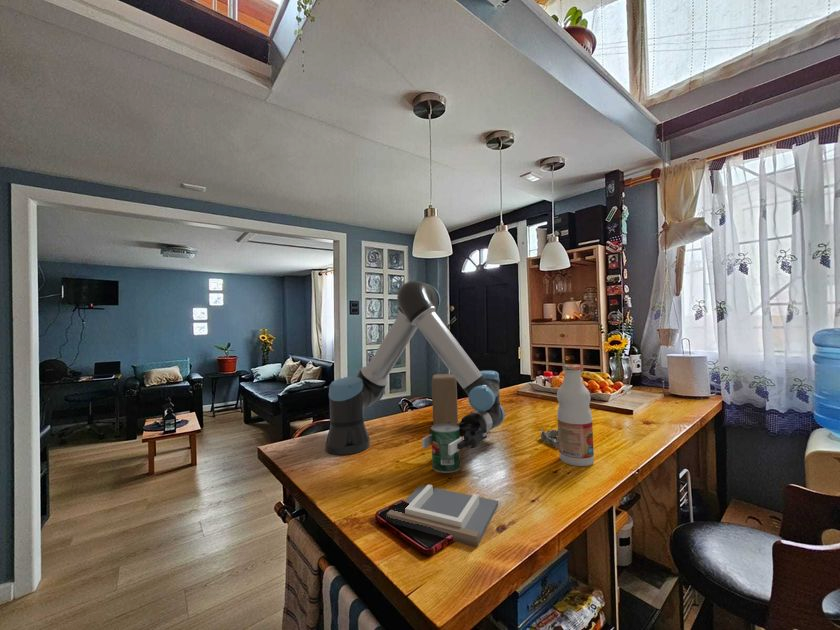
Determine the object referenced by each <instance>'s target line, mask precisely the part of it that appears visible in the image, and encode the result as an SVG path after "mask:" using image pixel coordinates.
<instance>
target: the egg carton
mask: <svg viewBox="0 0 840 630" xmlns="http://www.w3.org/2000/svg"><path fill="white" fill-rule="evenodd" d="M538 430H539V431H541V433H540V441H542V442H546V441H547V442H546V444H547V445H551V444H553V445H552V447H553V448H554V447H555V449H559V440H558V428H557V429H551V430H549V429H548V430H547V432H545V430H544V429H542V428H538ZM553 437H556V438H553ZM556 447H557V448H556Z"/></svg>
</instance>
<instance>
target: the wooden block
mask: <svg viewBox="0 0 840 630" xmlns="http://www.w3.org/2000/svg"><path fill="white" fill-rule="evenodd" d="M457 383H458V381H457V380H456V379H455V377H454V376H453V375H452V373H437V374H436V373H435V374H433V375H432V378H431V398H432V399H431V401H432V403H431V404H432V424H433V425H435V424H440V423H447V422H451V423H452V424H458V423H459V412H458V411H459V410H458V388H457V386H458V385H457ZM433 425H432V426H433Z"/></svg>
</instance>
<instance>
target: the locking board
mask: <svg viewBox="0 0 840 630" xmlns="http://www.w3.org/2000/svg"><path fill="white" fill-rule="evenodd" d="M404 501H405V502H407V503H409V505H408V506H407V507H406V508H405V513H402V512H398V511H394V510H395V509H394V510H393V509H390V510H389V511H387V512H386V517H387V516H388V517H390V518H393V519H398V520H401V521H405V522H409V523H413V524H419V525H423V526H427V527H431V528H433V529H435V530H438V531H441V532H444V533H448V534H451V535H452V536H453V541H452V542H455V543H459V544H464V545H467V546H471V547H474V548H478V547H479V544H480V543H481V540H482V539H483V536H484V534H485V532H486V531H487V528H488V527H489V524H490V522H491V521H492V519H493V517H494V514H495V513H496V511H497V508H498V507H499V500H496V499H491V498H486V497H482V496H480V494H477V493H473V494H471V495H470V494H468V493H467V494H466V493H462V492H456V491H452V490H447V489H442V488H437V487H434V486H433V485H432V484H427V485H422V484H420V485H419V486H417V488H416V489H414V491H413V492H412V493H411V494H410V495H409V496H407V498H406V499H404Z"/></svg>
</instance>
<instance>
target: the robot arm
mask: <svg viewBox="0 0 840 630" xmlns="http://www.w3.org/2000/svg"><path fill="white" fill-rule="evenodd" d="M396 300H397V304H398V308H397V311H398V315H397V317H396V318H395V320H394V322H393V323H392V325H391V327H390V329H389V330H388V332H387V333H386V335H385V336H384V339H383V340H382V342H381V343H380V345H379V346H378V348H377V350H376V351H375V353H374V355H373V356H372V358H371V360H370V361H369V363H368V364H367V365H366V366H363V367H361V368H360V369H359V372H358V374H357V375H356V376H345V377H341V378H337V379H335V380H333V381H331V383H330V384H329V386H328V400H329V422H330V423H329V430H328V434H327V437H326V440H325V451H326V452H327V453H328V454H331V455H335V456H337V455H338V456H339V455H340V456H346V455H352V454H353V455H354V454H357V453H361V452H364V451H365V450H367V449H368V448H369V447H370V446H371V440H370V439H371V438H370V436H369V434H368V430H367V428H366V425H365V414H364V413H365V409H367V408H368V407H371V406H374V405H376V404H377V403H378V402H380V400H381V399H382V398H383V396H384V395H385V391H386V386H387V385H388V382H389V381H388V378H387V377H389V374H390V373H391V371H392V370H393V368H394V366H395V365H396V363H397V362H398V360H399V359H400V357H401V355H402V353H404V351H405V349H406V347H407V346H408V344H409V343H410V341H411V339H412V338H413V336H414V335H415V333H416V332H417V329H418V330H419V331H420V333H422V335H423V336H424V338H425V339H426V341H427V343H428V344H429V345H430V346H431V348H432V349H433V350H434V352H436V355H438V357H439V358H440V360H441V361H442V362H443V365H445V366H446V368H447V369H448V371H449V373H450V374H452V375H453V376H454V377H455V379H456V382H457V383H458V384H459V385H460V387H461V388H462V389H463V391H464V392H465V394H466V395H467V398H468V403H469V405H470V407H471V408H472V409H474V410H475V411H473V412H470V413H469V414H467V415H464V416H463V417H462V418H461V420H460V421H459V422H458V424H456V425H458V426H459V433H460V434H459V436H460V438H459V439H457V440H455V441H453V442H452V443H450V444H448V455H453V454H454V453H456V452H457V451H459V450H460V451H461V450H463V449H465V448H469V447H470V448H471V449H475V448H477V446H479V444H480V443H481V442H482V441H483V440H485V439H487V438H488V432H490V431H491V430H493V429H495V428H498V426H500V425H501V424H502V423H503V422H504V420H505V418H506V411H505V410H504V408H503V407H502V405H501V399H500V397H501V396H500V392H501V391H500V382H501V381H500V374H499V372H497V371H495V370H479V369H478V367H477V366H476V364H475V363H474V362H473V360H472V359H471V358H470V356H469V355H468V353H467V352H466V351H465V350H464V348H463V346H461V345H460V343H459V341H458V340H457V339H456V338H455V336H454V335H453V334H452V333H451V331H450V330H449V328H448V327H447V326H446V324H445V323H444V321H442V319H441V318H440V316H439V314H438V313H437V311H438V309H439V307H440V305H441V296H440V293H439V292H438V290H437V288H435V287H434V286H433V285H431V284H429V283H426V282H422V281H418V280H412V281H411V280H410V281H407V282H405V283H404V284H403V285H402V286H401V287H400V288H399V290H398V292H397V299H396ZM476 410H477V411H476ZM447 423H451V422H447ZM428 431H429V434H428V435H426V436H424V437H423V438H421V449H423V450H426V449H427V448H429V447H432V435H431V428H430V429H429V430H428Z"/></svg>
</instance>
